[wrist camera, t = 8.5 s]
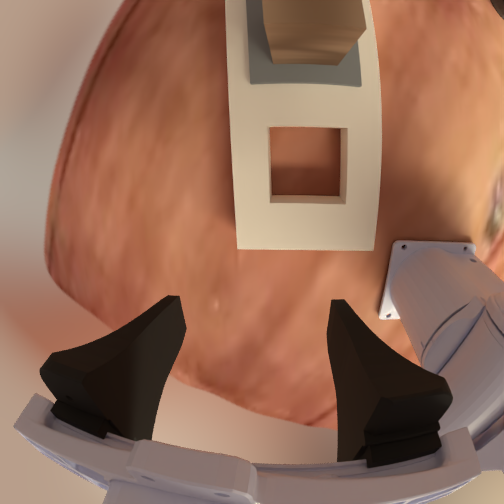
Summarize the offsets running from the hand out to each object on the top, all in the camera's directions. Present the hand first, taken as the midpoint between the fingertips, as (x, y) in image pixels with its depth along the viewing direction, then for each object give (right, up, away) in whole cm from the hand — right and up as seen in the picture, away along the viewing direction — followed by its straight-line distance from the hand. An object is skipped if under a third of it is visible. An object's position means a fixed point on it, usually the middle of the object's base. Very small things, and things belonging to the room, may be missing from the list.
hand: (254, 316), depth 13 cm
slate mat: (+3, +17, +1) cm, 17 cm away
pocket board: (+4, +13, +5) cm, 15 cm away
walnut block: (+3, +16, 0) cm, 17 cm away
